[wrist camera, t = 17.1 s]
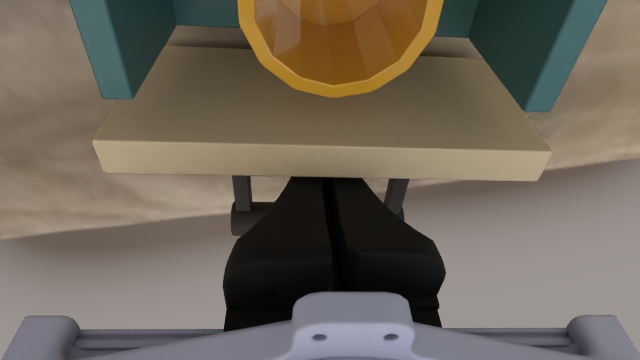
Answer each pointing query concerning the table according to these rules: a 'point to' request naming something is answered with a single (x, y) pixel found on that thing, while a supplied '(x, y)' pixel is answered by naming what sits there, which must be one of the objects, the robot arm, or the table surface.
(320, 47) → the cup
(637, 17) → the table surface
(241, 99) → the drawer
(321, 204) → the robot arm
